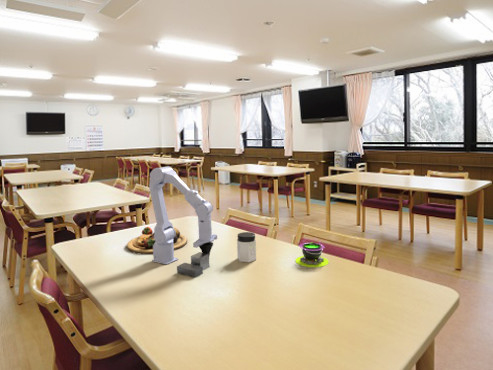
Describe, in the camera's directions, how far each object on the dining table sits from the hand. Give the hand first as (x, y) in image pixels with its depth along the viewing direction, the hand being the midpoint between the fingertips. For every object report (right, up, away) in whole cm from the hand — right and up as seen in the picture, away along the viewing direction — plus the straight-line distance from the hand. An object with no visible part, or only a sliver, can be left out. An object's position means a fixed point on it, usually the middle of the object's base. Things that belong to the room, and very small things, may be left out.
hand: (206, 258), depth 156 cm
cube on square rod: (-2, -3, -3) cm, 5 cm away
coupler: (-4, -4, -5) cm, 7 cm away
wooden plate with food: (-30, 0, +33) cm, 45 cm away
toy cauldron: (+48, -2, +2) cm, 48 cm away
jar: (+18, -2, +6) cm, 19 cm away
